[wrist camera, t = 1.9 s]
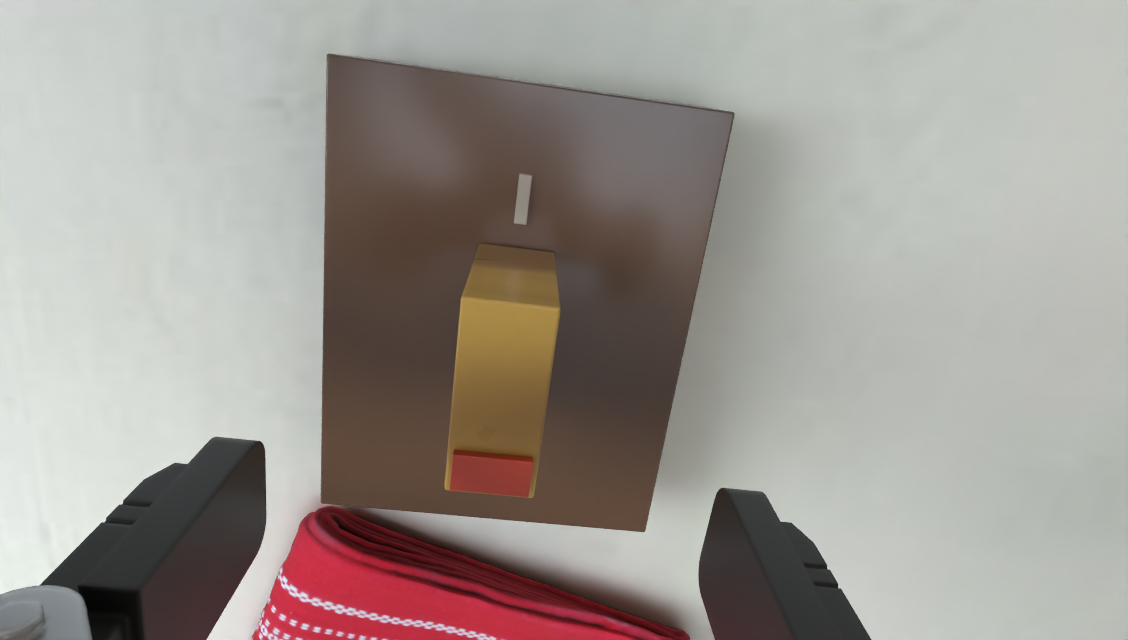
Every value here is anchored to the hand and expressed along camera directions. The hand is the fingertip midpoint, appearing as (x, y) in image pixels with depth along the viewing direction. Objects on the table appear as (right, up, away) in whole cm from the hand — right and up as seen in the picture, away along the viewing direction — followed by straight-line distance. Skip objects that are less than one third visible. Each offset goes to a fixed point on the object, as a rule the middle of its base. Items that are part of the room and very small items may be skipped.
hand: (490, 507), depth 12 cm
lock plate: (-1, +4, +11) cm, 12 cm away
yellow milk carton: (0, +3, +8) cm, 9 cm away
